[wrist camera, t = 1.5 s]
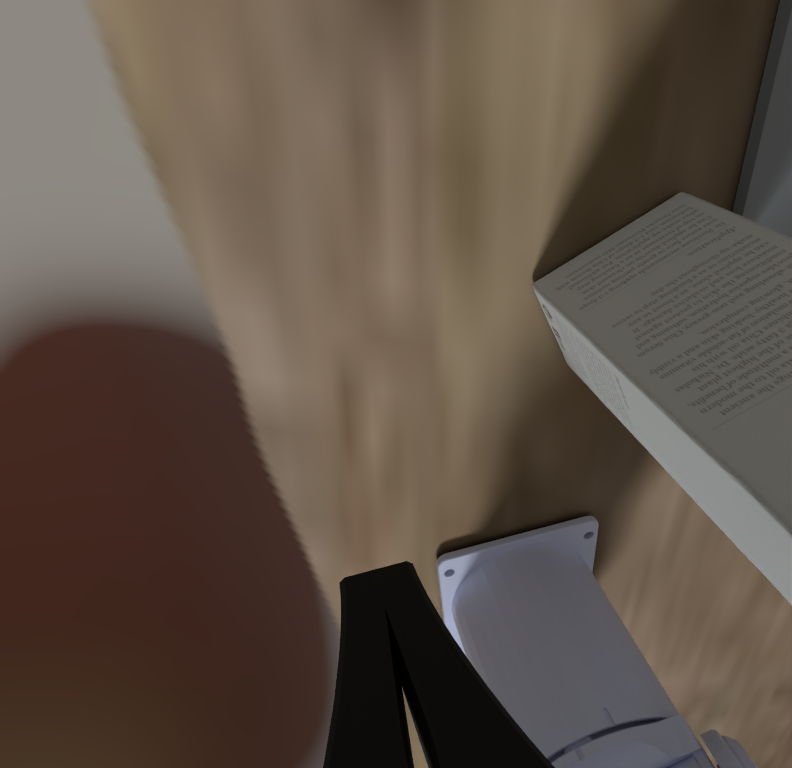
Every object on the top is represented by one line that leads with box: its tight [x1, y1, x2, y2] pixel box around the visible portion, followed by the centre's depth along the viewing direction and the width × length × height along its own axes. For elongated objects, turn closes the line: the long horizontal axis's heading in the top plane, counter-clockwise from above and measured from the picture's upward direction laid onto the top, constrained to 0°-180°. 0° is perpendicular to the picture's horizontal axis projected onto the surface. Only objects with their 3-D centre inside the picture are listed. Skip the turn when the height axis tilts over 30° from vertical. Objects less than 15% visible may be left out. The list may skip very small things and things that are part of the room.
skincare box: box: [533, 192, 792, 605], centre depth 16 cm, size 6×4×12 cm
